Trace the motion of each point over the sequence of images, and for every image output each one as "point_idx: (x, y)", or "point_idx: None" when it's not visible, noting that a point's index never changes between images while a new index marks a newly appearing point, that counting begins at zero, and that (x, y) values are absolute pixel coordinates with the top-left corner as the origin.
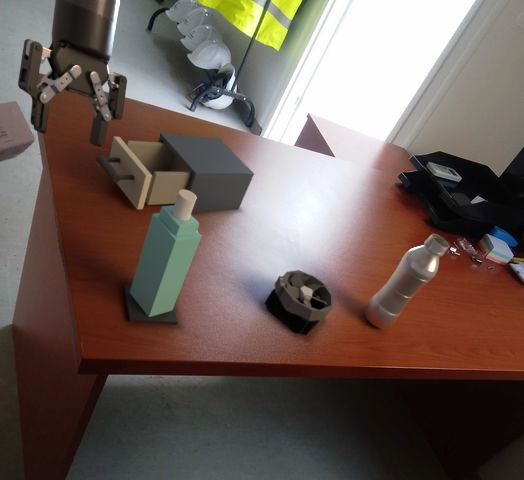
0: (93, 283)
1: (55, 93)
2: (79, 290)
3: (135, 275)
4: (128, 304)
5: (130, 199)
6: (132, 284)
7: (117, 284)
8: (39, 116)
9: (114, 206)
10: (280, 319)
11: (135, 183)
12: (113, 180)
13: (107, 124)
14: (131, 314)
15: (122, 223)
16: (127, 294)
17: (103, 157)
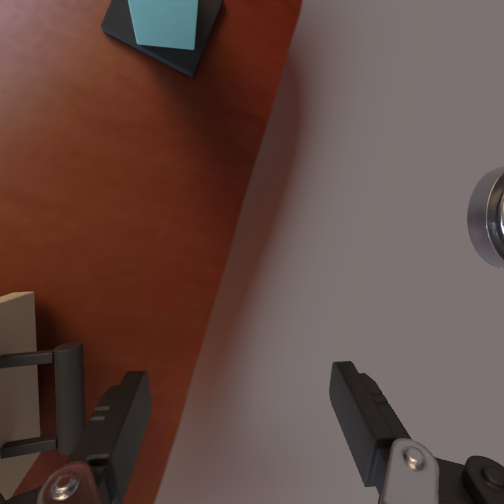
0: (240, 105)
1: (387, 500)
2: (268, 98)
3: (197, 11)
4: (211, 25)
5: (34, 327)
6: (195, 32)
7: (200, 88)
8: (375, 401)
9: (87, 317)
10: None
11: (3, 340)
12: (80, 343)
13: (71, 458)
14: (217, 1)
15: (98, 256)
16: (200, 47)
17: (65, 440)
